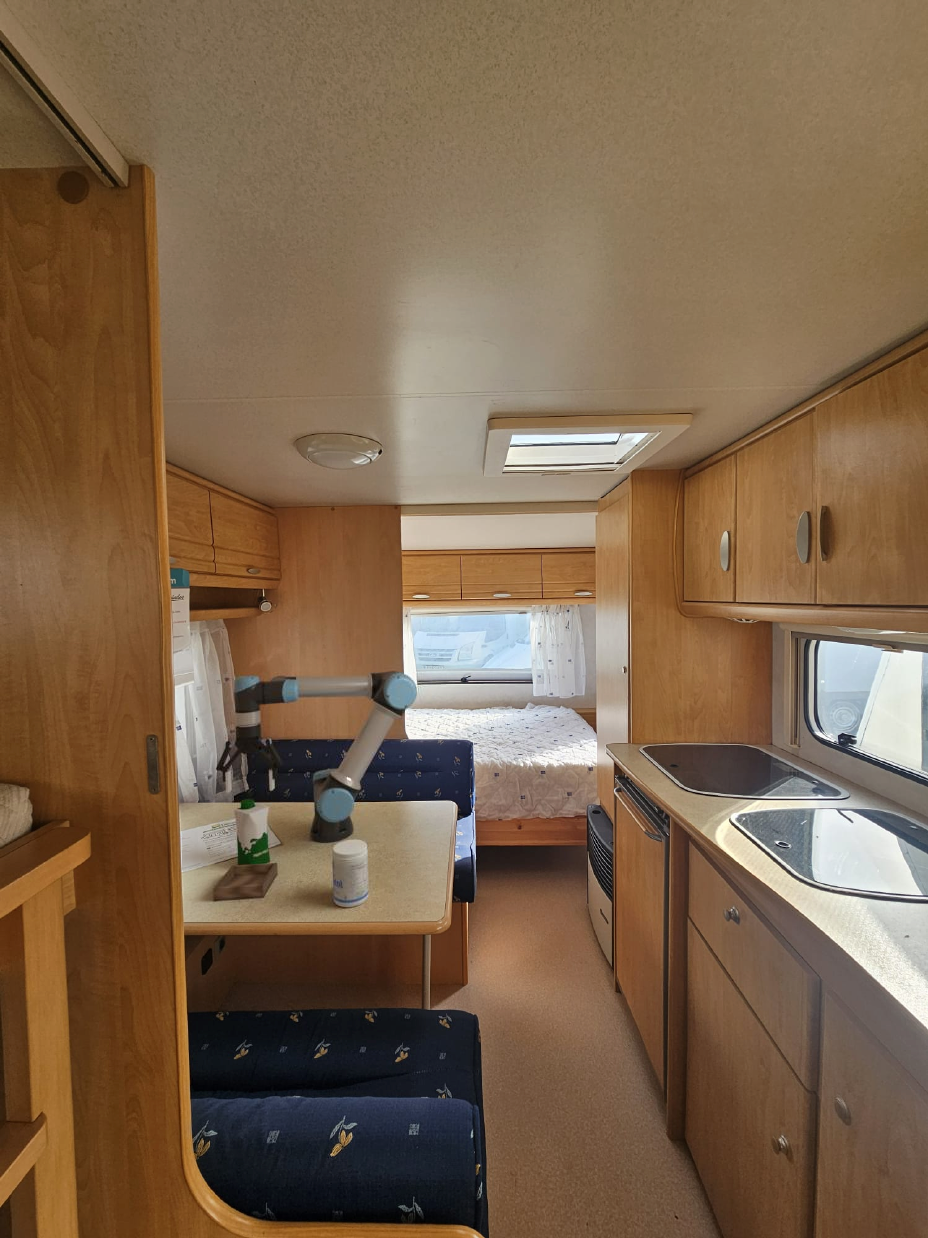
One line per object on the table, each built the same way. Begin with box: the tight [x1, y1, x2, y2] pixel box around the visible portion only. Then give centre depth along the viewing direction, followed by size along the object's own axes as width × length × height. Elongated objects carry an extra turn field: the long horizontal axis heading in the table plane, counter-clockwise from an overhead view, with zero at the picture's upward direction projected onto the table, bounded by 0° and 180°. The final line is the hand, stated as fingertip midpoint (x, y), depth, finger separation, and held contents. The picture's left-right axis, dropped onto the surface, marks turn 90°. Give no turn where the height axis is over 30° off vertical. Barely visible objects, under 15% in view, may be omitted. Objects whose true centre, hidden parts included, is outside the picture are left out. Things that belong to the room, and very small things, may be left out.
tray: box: [212, 862, 278, 902], centre depth 153 cm, size 14×14×4 cm
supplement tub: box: [331, 839, 370, 908], centre depth 144 cm, size 10×10×15 cm
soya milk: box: [233, 798, 271, 865], centre depth 167 cm, size 9×9×20 cm
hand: (250, 790), depth 167 cm, fingers open, 13 cm apart
